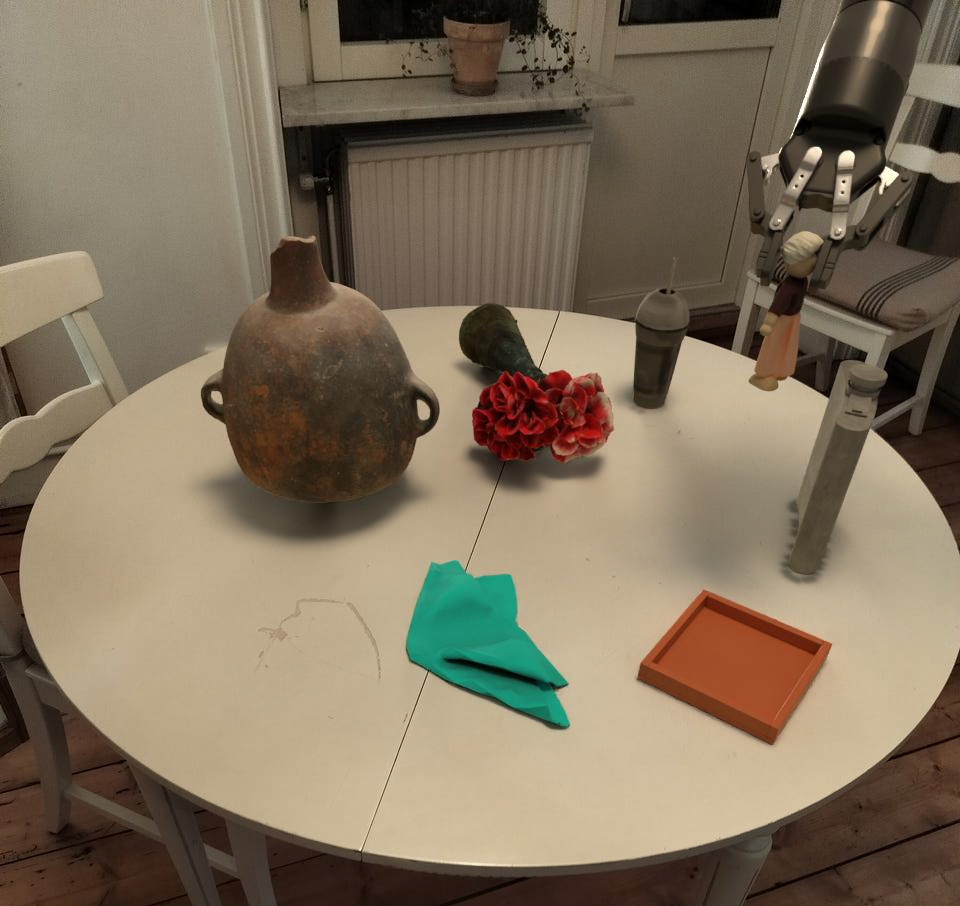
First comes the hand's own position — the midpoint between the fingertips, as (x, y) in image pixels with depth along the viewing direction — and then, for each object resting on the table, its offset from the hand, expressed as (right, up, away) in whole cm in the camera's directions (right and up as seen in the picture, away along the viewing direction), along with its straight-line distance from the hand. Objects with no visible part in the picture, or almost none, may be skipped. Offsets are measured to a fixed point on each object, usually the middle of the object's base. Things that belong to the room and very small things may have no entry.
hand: (789, 285), depth 71 cm
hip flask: (+13, -17, +28) cm, 35 cm away
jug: (-44, -11, +33) cm, 56 cm away
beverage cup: (-2, +4, +51) cm, 51 cm away
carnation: (-21, +1, +47) cm, 51 cm away
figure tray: (-1, -32, +12) cm, 34 cm away
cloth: (-26, -30, +14) cm, 42 cm away
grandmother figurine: (+1, -6, +8) cm, 9 cm away
